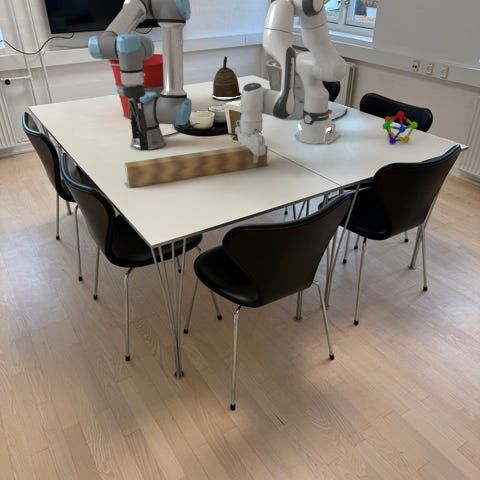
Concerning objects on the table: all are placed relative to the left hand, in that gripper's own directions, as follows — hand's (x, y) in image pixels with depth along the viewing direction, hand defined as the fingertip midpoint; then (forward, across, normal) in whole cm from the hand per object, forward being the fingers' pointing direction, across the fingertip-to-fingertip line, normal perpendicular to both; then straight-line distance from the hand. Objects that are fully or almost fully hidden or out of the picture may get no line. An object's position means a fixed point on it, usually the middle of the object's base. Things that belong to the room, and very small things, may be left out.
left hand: (140, 143), depth 163 cm
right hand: (+13, 0, -45) cm, 47 cm away
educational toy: (+16, -1, -120) cm, 121 cm away
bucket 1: (+16, +92, -22) cm, 96 cm away
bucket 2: (+16, +58, -96) cm, 113 cm away
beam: (+16, 0, -22) cm, 27 cm away
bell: (+16, +108, -77) cm, 134 cm away
